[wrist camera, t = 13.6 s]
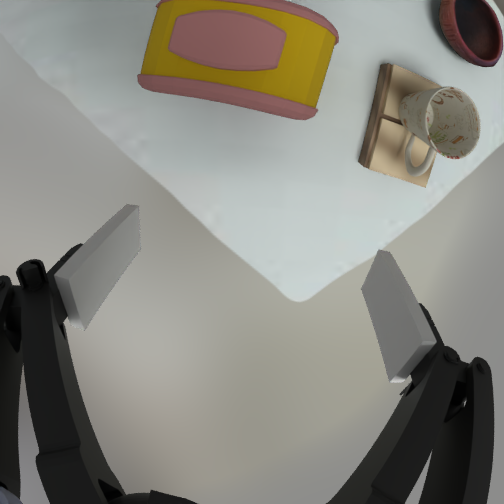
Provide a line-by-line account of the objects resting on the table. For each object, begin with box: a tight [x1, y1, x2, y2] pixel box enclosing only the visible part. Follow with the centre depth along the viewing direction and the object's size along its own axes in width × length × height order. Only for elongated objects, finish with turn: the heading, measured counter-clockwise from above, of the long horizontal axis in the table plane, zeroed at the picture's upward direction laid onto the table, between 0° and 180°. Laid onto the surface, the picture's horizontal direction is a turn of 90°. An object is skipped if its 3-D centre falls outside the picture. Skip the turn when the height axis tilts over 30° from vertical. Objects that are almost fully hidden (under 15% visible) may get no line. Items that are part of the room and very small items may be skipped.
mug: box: [399, 87, 480, 177], centre depth 27 cm, size 8×13×10 cm, turn 166°
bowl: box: [439, 0, 503, 67], centre depth 20 cm, size 16×13×8 cm
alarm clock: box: [137, 0, 339, 120], centre depth 24 cm, size 18×11×19 cm, turn 76°
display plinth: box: [358, 63, 441, 188], centre depth 33 cm, size 16×11×4 cm
